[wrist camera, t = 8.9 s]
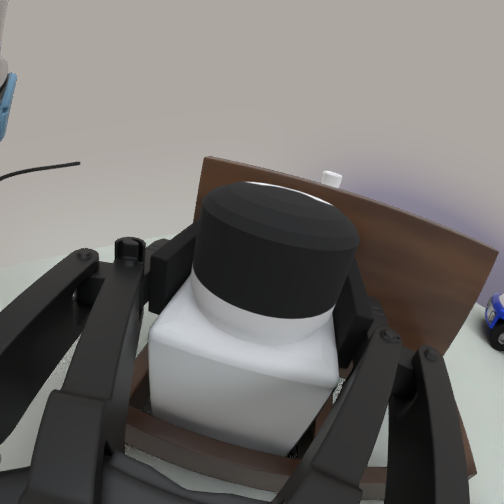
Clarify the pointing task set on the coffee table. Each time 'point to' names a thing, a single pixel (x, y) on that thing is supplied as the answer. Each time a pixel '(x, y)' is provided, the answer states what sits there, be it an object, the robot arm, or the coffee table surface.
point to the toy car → (496, 320)
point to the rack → (376, 284)
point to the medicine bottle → (254, 319)
